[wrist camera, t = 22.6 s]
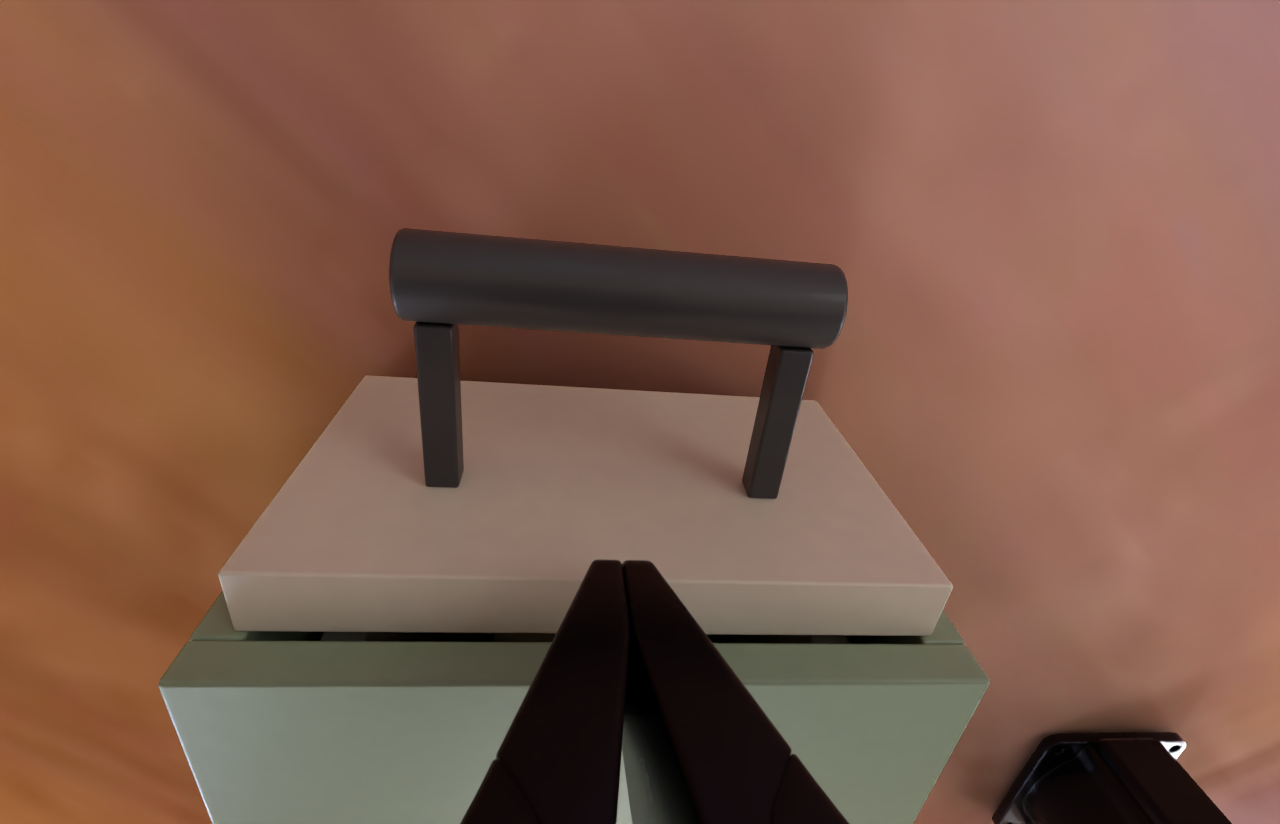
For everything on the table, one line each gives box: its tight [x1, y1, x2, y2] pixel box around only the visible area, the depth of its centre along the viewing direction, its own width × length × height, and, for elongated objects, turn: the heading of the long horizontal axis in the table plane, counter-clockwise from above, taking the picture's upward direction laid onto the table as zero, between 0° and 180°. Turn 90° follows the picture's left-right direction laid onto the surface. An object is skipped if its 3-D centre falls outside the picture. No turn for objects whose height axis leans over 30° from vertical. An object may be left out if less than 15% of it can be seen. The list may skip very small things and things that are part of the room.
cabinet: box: [158, 591, 990, 824], centre depth 16 cm, size 15×13×9 cm
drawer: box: [218, 228, 953, 644], centre depth 14 cm, size 18×11×7 cm, turn 174°
